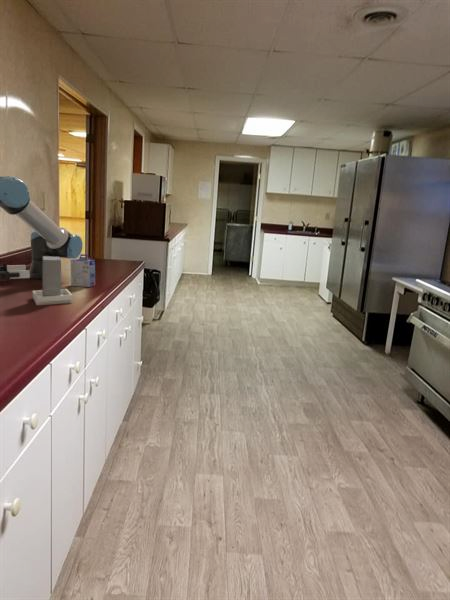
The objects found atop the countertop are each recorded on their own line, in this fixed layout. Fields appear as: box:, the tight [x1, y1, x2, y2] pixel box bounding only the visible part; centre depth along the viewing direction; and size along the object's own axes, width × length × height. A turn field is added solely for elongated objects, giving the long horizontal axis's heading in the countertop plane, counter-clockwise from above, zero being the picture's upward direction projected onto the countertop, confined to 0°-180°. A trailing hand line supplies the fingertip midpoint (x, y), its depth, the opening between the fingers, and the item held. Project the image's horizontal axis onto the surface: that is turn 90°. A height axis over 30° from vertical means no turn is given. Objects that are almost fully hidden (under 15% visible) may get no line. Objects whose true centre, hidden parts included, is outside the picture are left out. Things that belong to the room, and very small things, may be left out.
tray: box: [32, 288, 74, 306], centre depth 168 cm, size 13×13×3 cm
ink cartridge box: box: [70, 253, 96, 288], centre depth 197 cm, size 10×6×14 cm, turn 78°
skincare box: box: [42, 256, 62, 297], centre depth 166 cm, size 8×7×16 cm
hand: (27, 271), depth 161 cm, fingers open, 13 cm apart
